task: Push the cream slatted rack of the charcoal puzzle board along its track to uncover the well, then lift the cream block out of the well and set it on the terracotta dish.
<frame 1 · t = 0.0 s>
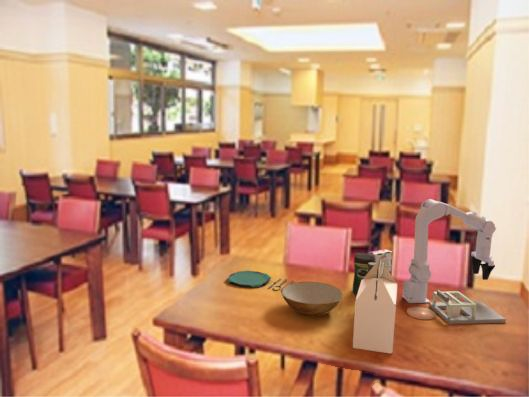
hand: (480, 276, 214), 10 cm above the table, tool pointing down, fingers open, 7 cm apart
terracotta dish: (421, 314, 197), on the table
coffee jar: (362, 294, 218), on the table
gable box: (374, 337, 175), on the table
cream block: (452, 314, 197), resting in puzzle board
bowl: (311, 311, 198), on the table
cream slatted rack: (453, 301, 196), point 5 cm above the table, slide at 0.0 cm
puzzle board: (466, 313, 198), on the table
candy bar box: (378, 285, 230), on the table
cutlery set: (258, 284, 229), on the table
sauce bottle: (369, 310, 200), on the table
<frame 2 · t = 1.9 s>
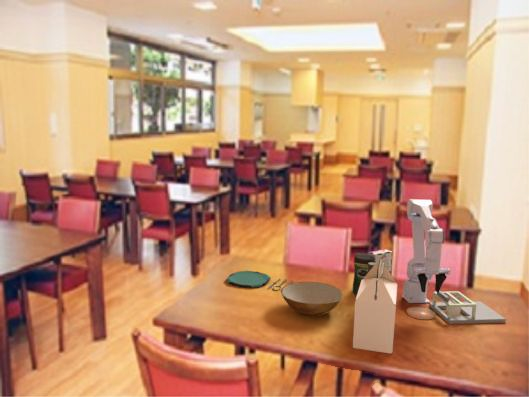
hand: (430, 291, 194), 10 cm above the table, tool pointing down, fingers open, 5 cm apart
nothing on the table moved.
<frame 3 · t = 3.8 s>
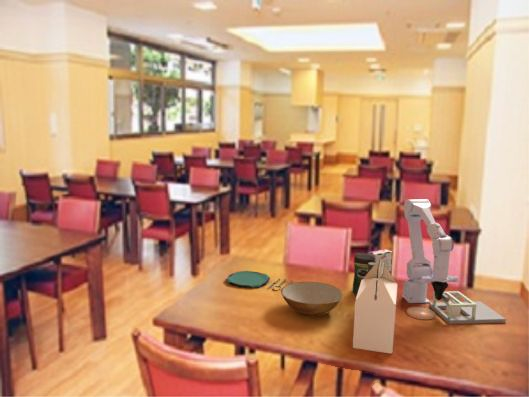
hand: (438, 299, 195), 7 cm above the table, tool pointing down, fingers closed
cream slatted rack: (453, 301, 196), point 5 cm above the table, slide at 0.0 cm, touching gripper
everything else where it was.
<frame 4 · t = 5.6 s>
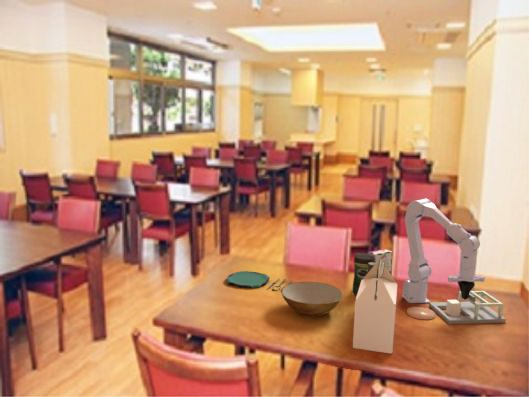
hand: (464, 298, 197), 7 cm above the table, tool pointing down, fingers closed
cream slatted rack: (479, 301, 198), point 5 cm above the table, slide at 11.0 cm, touching gripper
everything else where it was.
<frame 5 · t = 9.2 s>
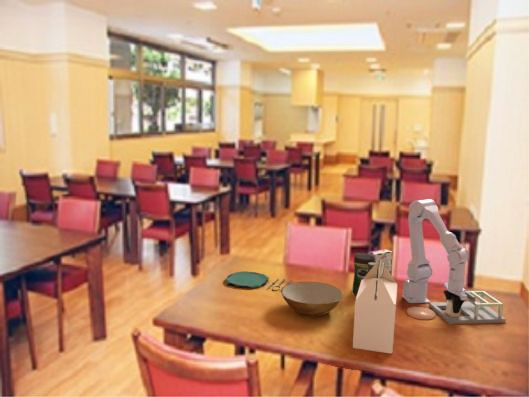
hand: (453, 310, 197), 2 cm above the table, tool pointing down, fingers closed on cream block, 4 cm apart
cream block: (452, 314, 197), resting in puzzle board, touching gripper
cream slatted rack: (479, 301, 198), point 5 cm above the table, slide at 11.0 cm
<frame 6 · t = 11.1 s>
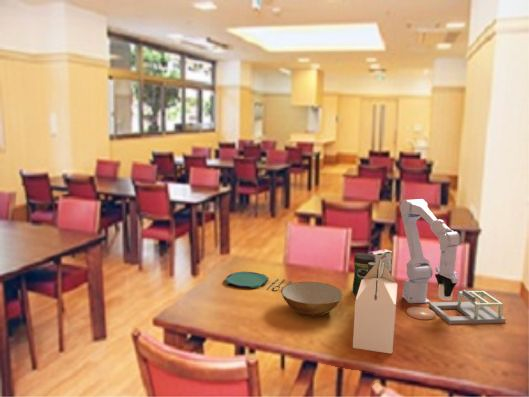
hand: (444, 294, 196), 9 cm above the table, tool pointing down, fingers closed on cream block, 4 cm apart
cream block: (444, 298, 196), point 7 cm above the table, touching gripper
when the fingers open (4 cm above the table, at t = 13.0 s): cream block stays where it is, resting on terracotta dish.
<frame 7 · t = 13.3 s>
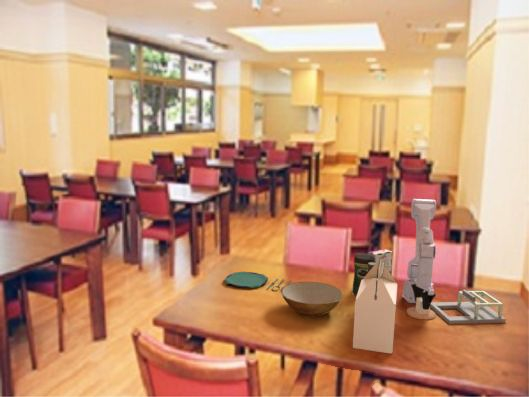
hand: (421, 305, 196), 4 cm above the table, tool pointing down, fingers open, 7 cm apart
cream block: (422, 312, 197), point 1 cm above the table, touching terracotta dish
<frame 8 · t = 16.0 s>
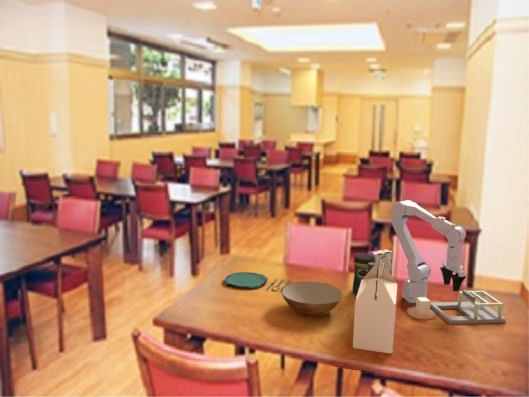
hand: (451, 287, 201), 9 cm above the table, tool pointing down, fingers open, 7 cm apart
at the end: cream slatted rack slide at 11.0 cm; cream block inside the target area (0.5 cm from its centre), point 0.8 cm above the table; cream block tilted 0° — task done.
